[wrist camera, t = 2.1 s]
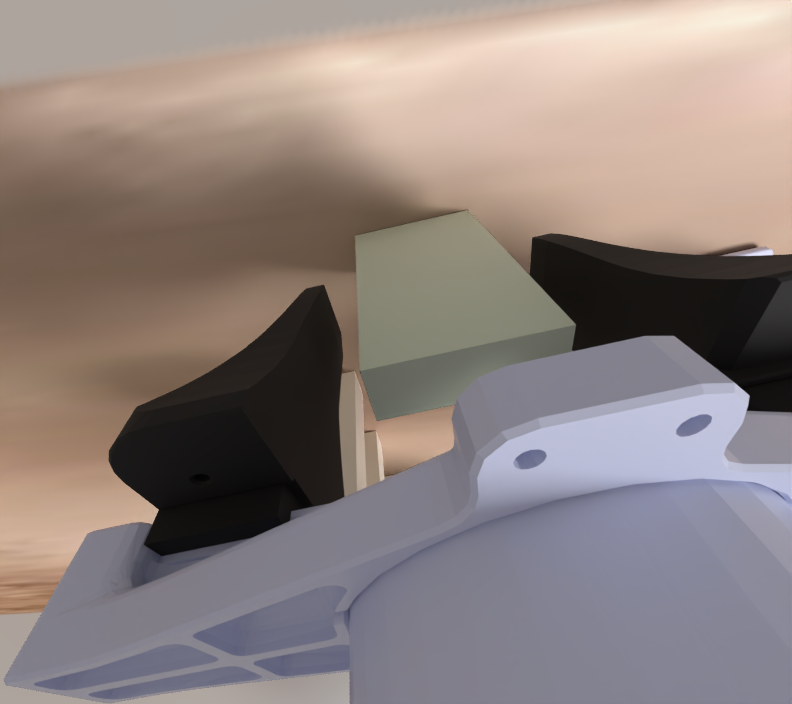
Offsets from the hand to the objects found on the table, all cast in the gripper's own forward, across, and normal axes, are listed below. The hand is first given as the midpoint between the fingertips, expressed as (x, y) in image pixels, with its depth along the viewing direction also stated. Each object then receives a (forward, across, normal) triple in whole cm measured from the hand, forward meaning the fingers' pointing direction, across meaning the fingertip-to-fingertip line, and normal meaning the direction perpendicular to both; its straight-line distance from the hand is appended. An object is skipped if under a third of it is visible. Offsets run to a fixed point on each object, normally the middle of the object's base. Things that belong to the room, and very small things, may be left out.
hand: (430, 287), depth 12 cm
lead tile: (+4, 0, 0) cm, 4 cm away
